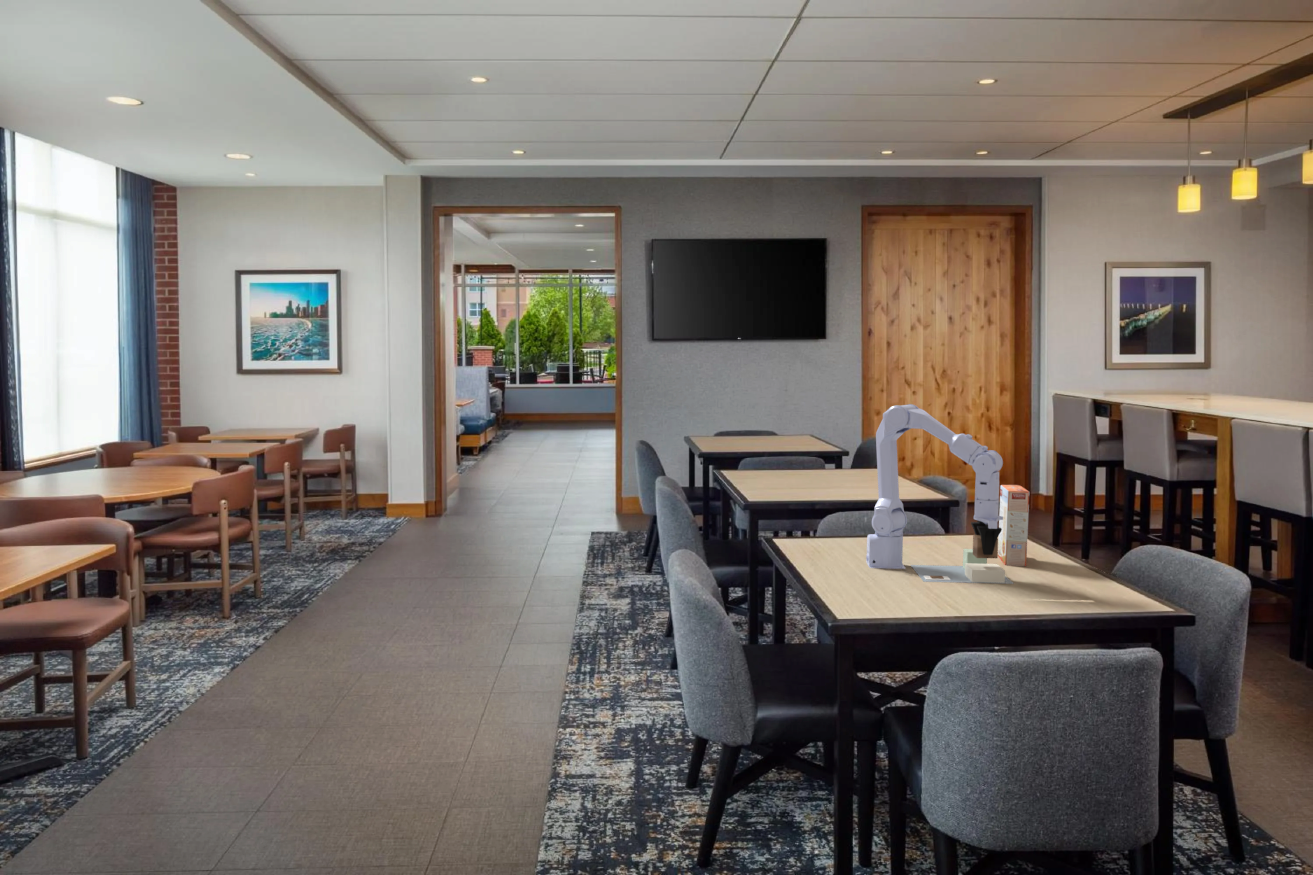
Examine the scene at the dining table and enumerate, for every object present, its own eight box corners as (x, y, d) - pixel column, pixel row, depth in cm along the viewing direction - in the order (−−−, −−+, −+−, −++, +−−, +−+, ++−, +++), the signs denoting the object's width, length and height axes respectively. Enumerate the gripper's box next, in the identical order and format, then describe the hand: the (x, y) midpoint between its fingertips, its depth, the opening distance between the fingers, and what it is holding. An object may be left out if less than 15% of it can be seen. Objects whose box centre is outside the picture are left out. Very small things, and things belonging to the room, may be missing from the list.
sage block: (967, 571, 258) (967, 552, 257) (962, 567, 263) (963, 548, 262) (986, 571, 257) (987, 552, 257) (982, 567, 262) (982, 549, 262)
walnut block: (977, 558, 246) (977, 538, 246) (972, 554, 251) (973, 534, 251) (997, 558, 246) (998, 538, 246) (992, 554, 251) (993, 535, 251)
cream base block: (971, 581, 246) (972, 569, 245) (964, 574, 253) (965, 563, 253) (1004, 582, 245) (1005, 570, 245) (996, 575, 253) (997, 563, 252)
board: (923, 583, 246) (923, 579, 246) (910, 566, 266) (910, 563, 266) (1013, 585, 244) (1014, 581, 244) (994, 568, 263) (994, 565, 263)
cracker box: (1027, 568, 264) (1030, 490, 263) (1004, 567, 266) (1006, 490, 264) (1019, 557, 278) (1021, 484, 276) (997, 556, 279) (999, 483, 278)
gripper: (1010, 503, 240) (1009, 558, 241) (995, 495, 254) (994, 547, 255) (981, 503, 241) (979, 557, 242) (968, 494, 255) (966, 546, 256)
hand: (985, 552), depth 249 cm, fingers closed on walnut block, 5 cm apart
